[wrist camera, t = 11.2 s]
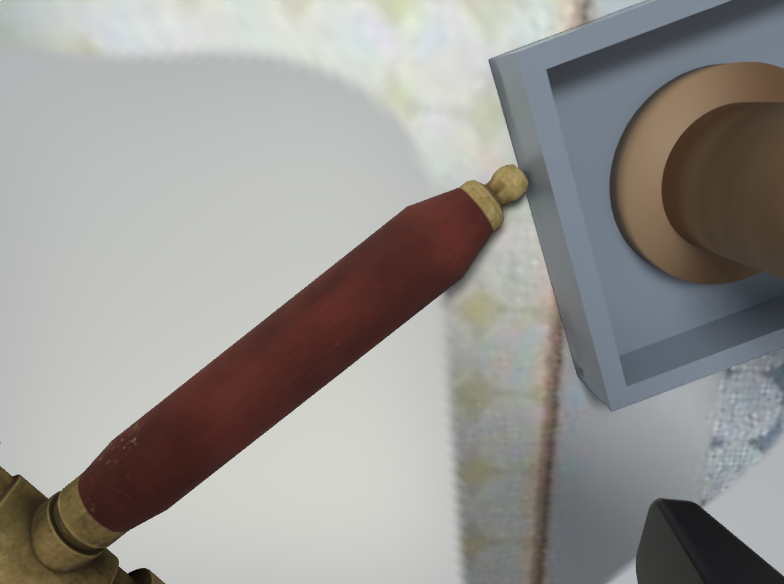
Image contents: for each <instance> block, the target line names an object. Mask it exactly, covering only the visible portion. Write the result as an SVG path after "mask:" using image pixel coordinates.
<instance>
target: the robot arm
mask: <svg viewBox="0 0 784 584" xmlns="http://www.w3.org/2000/svg"><path fill="white" fill-rule="evenodd" d="M636 574H637V580H638V584H784V576H783V575H782V574H780V573H779V572H778V571H777V570H776V569H774V568H773V567H772V566H771V565H770V564H768V563H767V562H766V561H765V560H763V559H762V558H761V557H760V556H759V555H758V554H756V553H755V552H754V551H753V550H752V549H750V548H749V547H748V546H747V545H745V544H744V543H743V542H742V541H741V540H739V539H738V538H737V537H736V536H735V535H733V534H732V533H731V532H730V531H729V530H727V529H726V528H725V527H724V526H723V525H722V524H720V523H719V522H718V521H717V520H715V519H714V518H713V517H712V516H711V515H710V514H708V513H707V512H706V511H705V510H704V509H702V508H701V507H700V506H699V505H697V504H696V503H694V502H691V501H685V500H674V499H664V498H659V499H656V500H654V501H653V502H652V504H651V506H650V508H649V511H648V514H647V518H646V522H645V525H644V529H643V533H642V536H641V540H640V543H639V547H638V551H637V556H636Z"/></svg>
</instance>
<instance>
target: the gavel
mask: <svg viewBox="0 0 784 584" xmlns="http://www.w3.org/2000/svg"><path fill="white" fill-rule="evenodd" d="M527 187H528V181H527V179H526V176H525V174H524V172H523V171H522V170H520V169H519V168H518V167H516V166H515V165H513V164H512V165H506V166H503V167H501V168H500V169H498V170H497V171H496V172H495V173H494V175H493V176H492V178H491V181H490V182H488V183H487V184H486V185H483V184H481V183H479V182H477V181H475V180H473V181H467V182H466V183H464V184H463V185H462V186H461V187H459V188H457V189H454V190H452V191H449V192H446V193H443V194H441V195H438V196H435V197H432V198H430V199H427V200H424V201H421V202H419V203H416V204H413V205H410V206H408V207H406V208H405V209H404V210H403V211H401V212H400V213H399V214H397V215H396V216H395V217H394V218H392V219H391V220H390V221H389V222H387V223H386V224H385V225H383V226H382V227H381V228H380V229H378V230H377V231H376V232H375V233H373V234H372V235H371V236H370V237H368V238H367V239H366V240H365V241H363V242H362V243H361V244H360V245H358V246H357V247H356V248H354V249H353V250H352V251H351V252H349V253H348V254H347V255H346V256H344V257H343V258H342V259H341V260H339V261H338V262H337V263H335V264H334V265H333V266H332V267H330V268H329V269H328V270H327V271H325V272H324V273H323V274H322V275H320V276H319V277H318V278H317V279H315V280H314V281H313V282H312V283H310V284H309V285H308V286H307V287H305V288H304V289H303V290H301V291H300V292H299V293H298V294H296V295H295V296H294V297H293V298H291V299H290V300H289V301H288V302H286V303H285V304H284V305H283V306H281V307H280V308H279V309H277V310H276V311H275V312H274V313H272V314H271V315H270V316H269V317H268V318H266V319H265V320H264V321H262V322H261V323H260V324H259V325H257V326H256V327H255V328H254V329H252V330H251V331H250V332H249V333H247V334H246V335H245V336H243V337H242V338H241V339H240V340H238V341H237V342H236V343H235V344H233V345H232V346H231V347H230V348H228V349H227V350H226V351H224V352H223V353H222V354H221V355H219V356H218V357H217V358H216V359H214V360H213V361H212V362H211V363H209V364H208V365H207V366H206V367H205V368H203V369H202V370H200V371H199V372H198V373H197V374H195V375H194V376H193V377H192V378H190V379H189V380H188V381H187V382H186V383H184V384H183V385H182V386H180V387H179V388H178V389H177V390H175V391H174V392H173V393H171V394H170V395H169V396H168V397H167V398H165V399H164V400H163V401H162V402H160V403H159V404H158V405H156V406H155V407H154V408H153V409H151V410H150V411H149V412H147V413H146V414H145V415H144V416H142V417H141V418H140V419H139V420H137V421H136V422H135V423H134V424H132V425H131V426H130V427H129V428H127V429H126V430H125V431H124V432H122V433H121V434H120V435H118V436H117V437H116V438H115V439H114V440H112V441H111V442H110V443H109V445H108V446H107V447H106V448H105V449H104V450H103V451H102V452H101V454H100V455H99V456H98V457H97V458H96V459H95V460H94V461H93V462H92V464H91V465H90V466H89V467H88V468H87V469H86V470H85V471H84V472H83V473H82V474H81V475H80V476H78V477H77V478H76V479H75V480H74V481H72V482H71V483H70V484H68V485H67V486H66V487H65V488H63V490H62V491H59V492H57V493H56V494H54V495H53V496H52V497H50V498H49V499H48V498H47V497H45V496H44V495H43V494H42V493H41V492H40V491H38V490H37V489H36V488H35V487H34V486H33V485H31V484H30V483H29V482H28V481H27V480H25V479H24V478H23V477H22V476H21V475H16V476H13V477H12V476H11V475H10V474H9V473H8V472H6V471H5V470H4V469H3V468H2V467H0V584H165V583H164V582H163V581H162V580H160V579H159V578H158V577H157V576H156V575H155V574H153V573H152V572H151V571H150V570H148V569H146V568H139V569H136V570H134V571H131V572H129V573H126V572H125V571H123V570H122V569H121V568H120V567H119V561H118V558H117V557H116V556H115V555H114V554H112V553H111V552H110V551H109V550H108V549H107V548H106V547H108V546H110V545H111V544H112V543H113V542H115V541H116V540H117V539H119V538H120V537H121V536H122V535H124V534H125V533H126V532H127V531H129V530H130V529H132V528H134V527H136V526H138V525H140V524H141V523H143V522H145V521H147V520H149V519H150V518H153V517H154V516H156V515H158V514H160V513H162V512H164V511H165V510H167V509H168V508H169V507H171V506H172V505H174V504H175V503H176V502H177V501H179V500H180V499H181V498H182V497H184V496H185V495H186V494H188V493H189V492H190V491H191V490H193V489H194V488H195V487H196V486H198V485H199V484H200V483H202V482H203V481H204V480H205V479H207V478H208V477H209V476H210V475H212V474H213V473H214V472H215V471H217V470H218V469H219V468H220V467H222V466H223V465H224V464H226V463H227V462H228V461H229V460H231V459H232V458H233V457H235V456H236V455H237V454H238V453H240V452H241V451H242V450H243V449H245V448H246V447H247V446H249V445H250V444H251V443H252V442H254V441H255V440H256V439H257V438H259V437H260V436H261V435H263V434H264V433H265V432H266V431H268V430H269V429H270V428H272V427H273V426H274V425H275V424H277V423H278V422H279V421H280V420H282V419H283V418H284V417H285V416H287V415H288V414H289V413H291V412H292V411H293V410H294V409H296V408H297V407H298V406H300V405H301V404H302V403H303V402H305V401H306V400H307V399H308V398H310V397H311V396H312V395H314V394H315V393H316V392H317V391H319V390H320V389H321V388H322V387H324V386H325V385H326V384H327V383H329V382H330V381H331V380H333V379H334V378H335V377H336V376H338V375H339V374H340V373H342V372H343V371H344V370H345V369H347V368H348V367H349V366H350V365H352V364H353V363H354V362H355V361H357V360H358V359H359V358H360V357H362V356H363V355H364V354H366V353H367V352H368V351H370V350H371V349H372V348H373V347H375V346H376V345H377V344H378V343H380V342H381V341H382V340H384V339H385V338H386V337H387V336H389V335H390V334H391V333H392V332H394V331H395V330H396V329H397V328H399V327H400V326H401V325H403V324H404V323H405V322H406V321H408V320H409V319H410V318H412V317H413V316H414V315H415V314H417V313H418V312H419V311H420V310H422V309H423V308H424V307H425V306H427V305H428V304H429V303H430V302H432V301H433V300H434V299H436V298H437V297H438V296H439V295H441V294H442V293H443V292H445V291H446V290H447V289H448V288H450V287H451V286H452V285H454V284H455V283H456V282H457V281H459V280H460V279H461V278H462V277H463V276H464V275H465V273H466V272H467V270H468V269H469V267H470V266H471V264H472V263H473V261H474V260H475V258H476V257H477V255H478V254H479V252H480V251H481V249H482V248H483V246H484V245H485V243H486V242H487V240H488V239H489V237H490V235H491V234H492V232H493V231H494V230H496V229H497V228H498V227H499V226H501V225H502V222H503V219H504V215H503V210H502V206H503V205H505V204H506V203H507V202H513V201H515V200H517V199H519V198H520V197H521V196H522V195H523V194H524V193H525V192H526V190H527Z"/></svg>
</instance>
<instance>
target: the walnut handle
mask: <svg viewBox="0 0 784 584" xmlns="http://www.w3.org/2000/svg"><path fill="white" fill-rule="evenodd" d="M610 202H611V209H612V212H613V216H614V220H615V222H616V225H617V227H618V229H619V232H620V233H621V235H622V237H623V238H624V240H625V241H626V243H627V244H628V245H629V246H630V248H631V249H632V250H633V251H634V252H635V253H636V254H637V255H638V256H639V257H641V258H642V259H643V260H644V261H646V262H648V263H649V264H651V265H652V266H654V267H656V268H658V269H660V270H662V271H664V272H666V273H668V274H670V275H672V276H675V277H677V278H679V279H681V280H685V281H689V282H692V283H698V284H706V285H711V284H726V283H732V282H736V281H740V280H743V279H746V278H749V277H751V276H754V275H756V274H759V273H760V272H764V273H766V274H769V275H771V276H774V277H777V278H779V279H782V280H784V68H781V67H778V66H775V65H772V64H767V63H762V62H736V63H725V64H716V65H708V66H704V67H700V68H696V69H693V70H691V71H688V72H686V73H683V74H681V75H679V76H677V77H676V78H674V79H672V80H670V81H668V82H667V83H666V84H664V85H663V86H662V87H660V88H659V89H658V90H656V91H655V92H654V93H653V94H652V95H651V96H650V97H649V98H648V99H647V100H646V101H645V102H644V103H643V104H642V105H641V106H640V108H639V109H638V110H637V111H636V112H635V114H634V115H633V117H632V118H631V120H630V121H629V123H628V124H627V126H626V128H625V130H624V132H623V134H622V136H621V137H620V140H619V142H618V145H617V148H616V150H615V153H614V157H613V161H612V165H611V173H610Z"/></svg>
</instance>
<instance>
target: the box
mask: <svg viewBox="0 0 784 584" xmlns="http://www.w3.org/2000/svg"><path fill="white" fill-rule="evenodd" d="M736 62H762V63H767V64H772V65H775V66H778V67H781V68H784V0H647V1H644V2H641V3H638V4H636V5H633V6H630V7H628V8H625V9H622V10H620V11H617V12H614V13H612V14H609V15H606V16H604V17H601V18H598V19H596V20H593V21H590V22H587V23H585V24H582V25H579V26H577V27H574V28H571V29H569V30H566V31H563V32H561V33H558V34H555V35H553V36H550V37H547V38H544V39H542V40H539V41H536V42H534V43H531V44H528V45H526V46H523V47H520V48H518V49H515V50H512V51H510V52H507V53H504V54H502V55H499V56H496V57H493V58H491V59H489V63H490V66H491V70H492V74H493V77H494V81H495V84H496V88H497V91H498V95H499V98H500V102H501V106H502V109H503V113H504V116H505V120H506V123H507V127H508V130H509V134H510V138H511V141H512V145H513V148H514V152H515V155H516V159H517V162H518V166H519V169H520V170H522V171H523V172H524V174H525V176H526V179H527V181H528V187H527V190H526V194H527V198H528V202H529V205H530V209H531V212H532V216H533V219H534V223H535V226H536V230H537V234H538V237H539V241H540V244H541V248H542V251H543V255H544V258H545V262H546V266H547V269H548V273H549V276H550V280H551V283H552V287H553V290H554V294H555V298H556V301H557V305H558V308H559V312H560V315H561V319H562V322H563V326H564V330H565V333H566V337H567V340H568V344H569V347H570V351H571V354H572V358H573V362H574V365H575V369H576V372H577V375H578V376H579V378H580V379H581V380H582V381H583V382H584V383H585V384H586V385H587V386H588V387H589V388H590V389H591V390H592V391H593V392H594V394H595V395H596V396H597V397H598V398H599V399H600V400H601V401H602V402H603V403H604V404H605V405H606V406H607V407H608V408H609V410H610V411H611V412H612V411H615V410H618V409H620V408H623V407H626V406H628V405H631V404H634V403H636V402H639V401H642V400H644V399H647V398H650V397H652V396H655V395H658V394H660V393H663V392H666V391H668V390H671V389H674V388H676V387H679V386H682V385H685V384H687V383H690V382H693V381H695V380H698V379H701V378H703V377H706V376H709V375H711V374H714V373H717V372H719V371H722V370H725V369H727V368H730V367H733V366H735V365H738V364H741V363H743V362H746V361H749V360H751V359H754V358H757V357H759V356H762V355H765V354H768V353H770V352H773V351H776V350H778V349H781V348H784V280H782V279H779V278H777V277H774V276H771V275H769V274H766V273H764V272H760V273H759V274H756V275H754V276H751V277H749V278H746V279H743V280H740V281H736V282H732V283H726V284H711V285H706V284H698V283H692V282H689V281H685V280H681V279H679V278H677V277H675V276H672V275H670V274H668V273H666V272H664V271H662V270H660V269H658V268H656V267H654V266H652V265H651V264H649V263H648V262H646V261H644V260H643V259H642V258H641V257H639V256H638V255H637V254H636V253H635V252H634V251H633V250H632V249H631V248H630V246H629V245H628V244H627V243H626V241H625V240H624V238H623V237H622V235H621V233H620V232H619V229H618V227H617V225H616V222H615V220H614V216H613V212H612V209H611V202H610V173H611V165H612V161H613V157H614V153H615V150H616V148H617V145H618V142H619V140H620V137H621V136H622V134H623V132H624V130H625V128H626V126H627V124H628V123H629V121H630V120H631V118H632V117H633V115H634V114H635V112H636V111H637V110H638V109H639V108H640V106H641V105H642V104H643V103H644V102H645V101H646V100H647V99H648V98H649V97H650V96H651V95H652V94H653V93H654V92H655V91H656V90H658V89H659V88H660V87H662V86H663V85H664V84H666V83H667V82H668V81H670V80H672V79H674V78H676V77H677V76H679V75H681V74H683V73H686V72H688V71H691V70H693V69H696V68H700V67H704V66H708V65H716V64H725V63H736Z"/></svg>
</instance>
